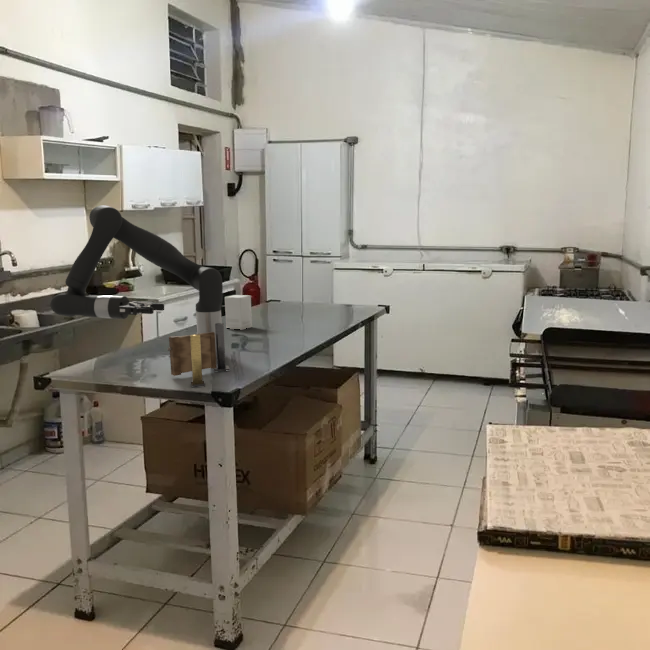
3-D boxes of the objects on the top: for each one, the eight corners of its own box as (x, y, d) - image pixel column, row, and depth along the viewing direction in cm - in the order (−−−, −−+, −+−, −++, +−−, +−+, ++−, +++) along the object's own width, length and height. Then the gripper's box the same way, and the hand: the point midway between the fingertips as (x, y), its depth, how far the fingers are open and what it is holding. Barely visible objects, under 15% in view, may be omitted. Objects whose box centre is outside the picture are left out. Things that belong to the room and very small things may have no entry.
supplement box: (252, 327, 322) (251, 295, 320) (241, 330, 314) (240, 297, 312) (236, 326, 326) (235, 294, 324) (225, 329, 319) (224, 296, 316)
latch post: (191, 384, 219) (188, 334, 216) (203, 383, 219) (201, 333, 217) (191, 387, 215) (188, 336, 212) (204, 386, 216) (202, 335, 213)
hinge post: (213, 368, 239) (210, 323, 237) (228, 367, 240) (226, 322, 238) (214, 372, 234) (212, 325, 232) (229, 371, 235) (227, 324, 233)
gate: (213, 367, 237) (211, 330, 235) (217, 368, 235) (215, 331, 233) (168, 375, 226) (165, 337, 224) (171, 376, 225) (169, 338, 222)
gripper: (101, 298, 221) (149, 299, 218) (121, 293, 235) (167, 295, 232) (101, 321, 222) (149, 323, 219) (122, 315, 236) (167, 317, 233)
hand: (158, 308), depth 225 cm, fingers open, 8 cm apart
